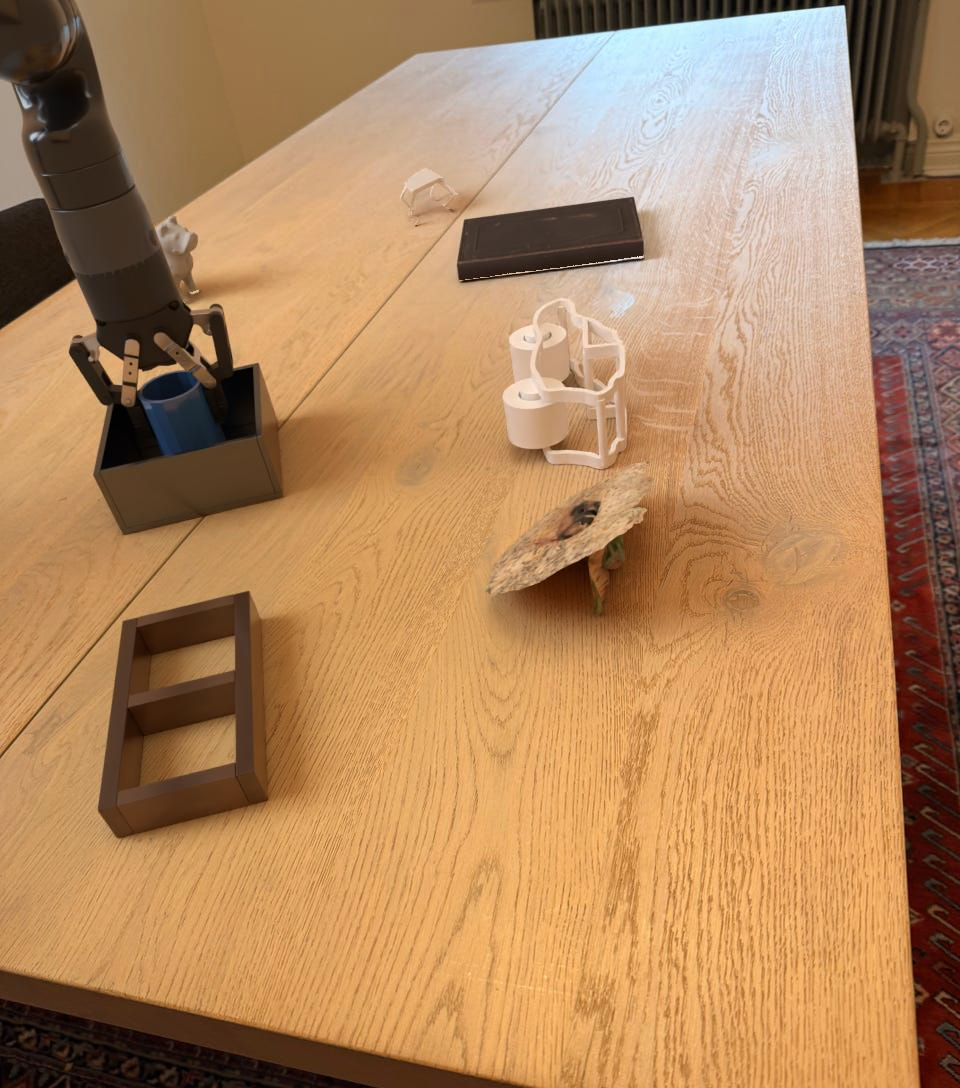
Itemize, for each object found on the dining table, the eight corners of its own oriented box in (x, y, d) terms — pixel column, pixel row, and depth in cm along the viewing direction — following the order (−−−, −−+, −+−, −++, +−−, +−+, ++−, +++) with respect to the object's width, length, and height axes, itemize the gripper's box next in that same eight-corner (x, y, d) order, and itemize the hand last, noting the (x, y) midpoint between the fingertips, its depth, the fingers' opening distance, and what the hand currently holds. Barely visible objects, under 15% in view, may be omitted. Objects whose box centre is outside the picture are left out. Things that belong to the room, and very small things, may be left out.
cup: (172, 491, 90) (135, 408, 84) (174, 460, 94) (139, 378, 88) (233, 477, 90) (201, 393, 84) (233, 446, 95) (202, 364, 89)
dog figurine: (205, 308, 124) (176, 226, 117) (128, 306, 129) (95, 227, 122) (226, 290, 128) (199, 210, 121) (150, 289, 132) (120, 211, 125)
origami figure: (463, 218, 135) (458, 182, 132) (406, 230, 135) (399, 194, 132) (454, 192, 144) (449, 158, 140) (401, 203, 144) (394, 169, 140)
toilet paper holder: (517, 371, 99) (509, 303, 94) (623, 360, 97) (620, 291, 92) (507, 477, 84) (496, 404, 80) (631, 467, 83) (628, 392, 78)
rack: (116, 838, 61) (96, 810, 59) (137, 648, 74) (122, 620, 72) (268, 800, 61) (254, 771, 59) (261, 618, 75) (249, 589, 73)
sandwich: (515, 592, 83) (482, 512, 80) (673, 535, 79) (644, 450, 77) (503, 676, 66) (460, 579, 63) (702, 608, 63) (666, 503, 60)
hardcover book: (466, 236, 130) (463, 219, 128) (634, 214, 126) (633, 196, 125) (459, 283, 118) (456, 265, 116) (644, 260, 115) (643, 241, 113)
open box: (122, 535, 87) (92, 475, 82) (135, 453, 98) (109, 396, 94) (283, 497, 88) (262, 435, 83) (277, 419, 99) (258, 362, 94)
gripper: (200, 218, 81) (259, 393, 92) (35, 254, 80) (115, 426, 92) (198, 247, 76) (261, 429, 87) (21, 287, 75) (108, 465, 86)
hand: (186, 427), depth 89 cm, fingers closed on cup, 6 cm apart
